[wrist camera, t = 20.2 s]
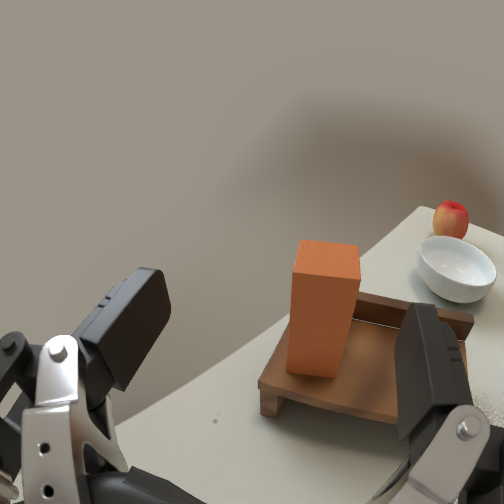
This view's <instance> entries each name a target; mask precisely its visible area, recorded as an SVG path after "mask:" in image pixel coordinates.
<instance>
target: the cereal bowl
mask: <svg viewBox="0 0 504 504" xmlns="http://www.w3.org/2000/svg"><path fill="white" fill-rule="evenodd" d="M417 254H418V255H417V268H418V272H419V274H420V277H421V279H422V280H423V282H424V283H425V284H426V285H427V287H429V288H430V290H432V291H433V292H434V293H435V294H437V295H439V296H440V297H442V298H444V299H447V300H449V301H453V302H457V303H471V302H476V301H478V300H480V299H481V298H483V297H484V296H485V295H486V294H487V293H488V292H489V291H490V290H491V288H492V286H493V284H494V282H495V280H496V276H497V272H496V268H495V266H494V264H493V262H492V261H491V259H490V258H489V257H488V256H487V255H486V254H485V253H483V252H482V251H481V250H480V249H478V248H477V247H475V246H473V245H472V244H470V243H467V242H465V241H463V240H460V239H457V238H453V237H448V236H432V237H428V238H426V239H424V240H423V241H422V242H421V244H420V246H419V249H418V253H417Z"/></svg>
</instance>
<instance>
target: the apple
mask: <svg viewBox="0 0 504 504" xmlns="http://www.w3.org/2000/svg"><path fill="white" fill-rule="evenodd" d="M433 229H434V232H435V235H436V236H448V237H453V238H457V239H460V240H462V239H463V237H464V236H465V234H466V232H467V229H468V214H467V211H466V209H465V207H464V206H462V205H461V204H459V203H456V202H452V201H445V202H444V203H442V204H441V205H439V207H438V208H437V210H436V212H435V214H434V217H433Z"/></svg>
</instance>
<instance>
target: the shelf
mask: <svg viewBox="0 0 504 504" xmlns="http://www.w3.org/2000/svg"><path fill="white" fill-rule="evenodd" d="M410 304H411V302H406V301H401V300H397V299H392V298H387V297H382V296H378V295H373V294H368V293H364V292H359V291H358V296H357V300H356V304H355V309H354V313H353V317H352V318H353V319H352V321H351V325H350V329H349V333H348V337H347V341H346V344H345V348H344V351H343V355H342V359H341V362H340V365H339V369H338V372H337V376H336V378H329V377H320V376H312V375H304V374H297V373H290V372H286V360H287V348H288V335H289V323H288V325H287V327H286V329H285V331H284V333H283V335H282V337H281V339H280V341H279V343H278V344H277V346H276V348H275V350H274V352H273V354H272V356H271V358H270V359H269V361H268V363H267V365H266V367H265V369H264V371H263V372H262V374H261V376H260V378H259V380H258V389H260V414H261V415H264V416H267V417H270V418H273V419H277V417H278V415H279V413H280V411H281V409H282V407H283V404H284V402H285V400H286V398H288V399H291V400H295V401H298V402H301V403H305V404H309V405H312V406H316V407H320V408H323V409H327V410H331V411H335V412H339V413H343V414H348V415H352V416H356V417H361V418H366V419H370V420H375V421H380V422H386V423H391V424H397V425H398V410H397V388H396V373H395V361H394V347H395V341H396V338H397V335H398V333H399V330H400V329H397V328H401V325H402V323H403V320H404V317H405V315H406V312H407V310H408V307H409V305H410ZM436 309H437V313H438V316H439V319H440V321H441V322H447V323H448V324H449V326H450V327H451V328H452V330H453V331H454V332H455V334H456V337H457V340H458V344H459V347H460V348H459V350H460V351H461V354H462V358H463V360H462V362H464V366H465V370H466V374H467V378H468V371H467V359H466V349H465V342H464V341H465V340H466V338H467V336H468V335H469V333H470V331H471V329H472V327H473V325H474V318H473V315H470V314H465V313H460V312H455V311H450V310H445V309H440V308H436ZM355 319H358V320H355ZM360 320H362V321H360ZM364 321H367V322H364ZM369 322H371V323H369ZM373 323H376V324H373ZM378 324H381V325H378ZM383 325H385V326H383ZM387 326H390V327H387ZM392 327H395V328H392ZM459 340H462V341H459Z"/></svg>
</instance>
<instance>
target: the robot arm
mask: <svg viewBox="0 0 504 504" xmlns="http://www.w3.org/2000/svg"><path fill="white" fill-rule="evenodd" d="M170 314H171V303H170V299H169V296H168V291H167V287H166V283H165V278H164V275H163V272H162V271H161V270H156V269H151V268H144V267H140V268H138V269H137V270H136V271H135V272H134V273H133V274H132V275H131V276H130V278H129V279H125V280H124V281H122V282H121V283H119V284H117V285H116V286H114V287H113V288H112V289H111V290H110V292H109V293H108V294H107V295H106V296H105V299H102V300H101V302H100V303H99V304H98V307H97V306H96V307H95V308H94V309H93V311H92V312H91V313H90V314H89V315H88V316H87V318H86V319H85V320H84V321H83V322H82V323H81V325H80V326H79V327H78V328H77V329H76V330H75V332H74V333H73V334H72V335H71V336H68V335H60V336H56V337H54V338H52V339H50V340H49V341H48V342H47V343H46V344H45V345H32V344H29V343H28V341H27V340H26V338H25V336H24V335H23V334H22V333H20V332H11V333H8V334H6V335H5V336H4V337H2V338H1V339H0V403H1V401H2V400H3V398H4V397H5V395H6V394H7V392H8V391H9V389H10V388H11V386H12V385H13V383H14V382H15V383H16V384H17V385H18V386H19V388H20V389H21V390H22V393H21V394H20V396H19V397H18V399H17V400H16V402H15V404H14V405H13V407H12V408H11V410H10V411H9V413H8V415H7V416H6V417H5V418H3V419H2V418H1V417H0V504H10V499H13V500H16V499H17V498H18V497H19V490H18V488H17V487H16V486H14V485H13V482H14V480H15V478H16V476H17V474H18V472H19V471H20V469H22V486H23V496H24V501H21V502H18V503H14V504H206V503H204V502H202V501H201V500H199V499H197V498H195V497H194V496H192V495H190V494H189V493H187V492H185V491H184V490H182V489H181V488H179V487H177V486H176V485H174V484H173V483H171V482H170V481H168V480H165V479H163V478H160V477H157V476H155V475H152V474H150V473H148V472H145V471H143V470H140V469H138V468H136V467H134V466H132V467H131V469H130V471H129V470H128V466H127V463H126V460H125V458H124V456H123V454H122V452H121V451H120V448H119V446H118V443H117V438H116V432H115V426H114V421H113V414H112V407H111V399H110V396H109V394H108V392H109V391H110V389H111V388H112V387H113V388H115V389H118V390H120V391H123V392H124V391H125V389H126V387H127V386H128V385H129V383H130V381H131V380H132V378H133V376H134V375H135V373H136V371H137V370H138V368H139V367H140V365H141V363H142V362H143V360H144V359H145V357H146V355H147V354H148V352H149V351H150V349H151V348H152V346H153V344H154V342H155V341H156V339H157V338H158V336H159V335H160V333H161V332H162V330H163V329H164V327H165V325H166V324H167V322H168V320H169V318H170ZM459 348H460V347H459V344H458V340H457V337H456V334H455V332H454V331H453V330H452V328H451V327H450V326H449V324H448V323H447V322H441V321H440V319H439V316H438V313H437V309H436V307H435V305H434V304H426V303H414V302H412V303H411V304H410V305H409V307H408V310H407V312H406V315H405V317H404V320H403V323H402V325H401V328H400V330H399V333H398V335H397V338H396V341H395V347H394V361H395V373H396V388H397V410H398V445H410V454H409V455H408V456H407V457H406V459H405V460H404V461H403V462H402V464H401V465H400V466H399V467H398V468H397V470H396V471H395V472H394V473H393V474H392V476H391V477H390V478H389V479H388V480H387V481H386V483H385V484H384V485H383V486H382V487H381V488H380V489H379V490H378V491H377V492H376V494H375V495H374V496H373V497H372V498H371V499H370V500H369V501H368V502H367V503H366V504H453V503H454V501H455V499H456V498H457V496H458V494H459V498H458V504H501V486H502V504H504V428H501V427H497V426H493V425H490V424H489V420H488V418H487V416H486V415H485V414H484V413H483V411H482V410H480V409H479V408H477V407H475V406H474V405H473V401H472V396H471V391H470V387H469V382H468V378H467V374H466V370H465V366H464V362H462V360H463V358H462V354H461V351H460V350H459Z"/></svg>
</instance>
